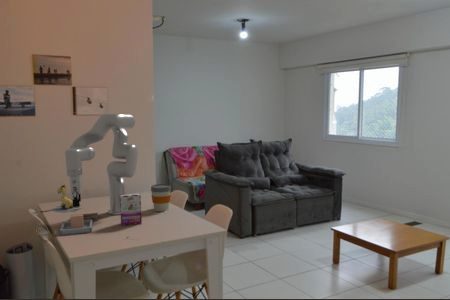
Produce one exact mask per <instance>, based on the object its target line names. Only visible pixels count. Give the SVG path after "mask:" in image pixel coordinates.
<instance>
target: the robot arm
mask: <svg viewBox="0 0 450 300" xmlns="http://www.w3.org/2000/svg"><path fill="white" fill-rule="evenodd" d="M135 125H136V119H135V116H133V115H132V114H123V113H103V114H101V115H100V116H99V117H98V119H97V120H96V121H95V123H94V124H93V126H92V127H91V128H90V130H88V131H86V132H85V133H83V134H82V135H80V136H78V137H77V138H76V139H75V140H74V141H73V142H72V144H71V145H70V146H69V148H67V149H65V152H64V153H65V154H64V156H65V166H66V167H65V169H66V176H67V177H68V178H69V187H70V194H71V195H72V199H71V200H72V201H73V208H74V207H79V206H81V205H80V202H81V201H82V199H81V195H82V192H83V186H82V185H83V184H82V177H81V176H82V175H83V165H82V162H85V161H88V162H89V161H91V160H93V159H94V158H95V156H96V151H95V149H94V148H93V147H91V146H90V145H91V144H95V143H99V142H101V141H103V140H104V138H105V137H106V136H107V135H108V132H109V131H110V130H112V132H113V143H112V150H111V152H112V153H111V154H112V155H111V156H112V157H113V158H114V159H115V160H113V161H111V162H109V163H108V164H107V167H106V172H107V177H108V182H109V183H108V185H109V205H110V206H109V209H108V210H107V214H108V215H112V216H113V215H114V216H115V215H116V216H118V215H121V211H120V195H122V194H127V193H126V192H127V190H126V187H127V186H126V181H125V179H124V178H127V179H130V178H133V177H134V176H135V175H136V172H137V165H138V159H139V157H138V156H139V150H138V147H137V146H136V145H135V144H131V143H129V133H128V131H127V130H128V129H130V130H131V129H132V128H134V126H135ZM126 129H127V130H126ZM117 160H118V161H117ZM120 160H124V161H120ZM79 208H80V207H79Z"/></svg>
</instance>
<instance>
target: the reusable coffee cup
mask: <svg viewBox="0 0 450 300" xmlns="http://www.w3.org/2000/svg"><path fill="white" fill-rule="evenodd" d="M150 191H151V201H152V203H153V210H154V211H156V212H165V211H168V210H169V208H170V202H171V192H172V187H171V184H166V183H159V184H153V185H151V186H150Z"/></svg>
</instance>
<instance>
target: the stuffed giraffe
mask: <svg viewBox="0 0 450 300" xmlns="http://www.w3.org/2000/svg"><path fill="white" fill-rule="evenodd" d="M66 189H67V187H66V185H65V184H63V185H61V186H59V187H58V188H57V194H58V195H59V194H61V204H60V205H57V206H56V207H53V208H50V212H56V213H66V214H67V213H74V212H76V211H78V210H80V209H82V207H81V208H80V206H81V205H80V206H79V207H73V200H72V199H70V198H68V197H67V193H66Z"/></svg>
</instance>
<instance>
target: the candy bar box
mask: <svg viewBox="0 0 450 300" xmlns="http://www.w3.org/2000/svg"><path fill="white" fill-rule="evenodd" d="M141 198H142V197H141V193H139V192H138V193H126V194H122V195H120V211H121V214H120V225H121V226H128V225H140V224H142V223H143V222H142V221H143V220H142V201H141Z"/></svg>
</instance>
